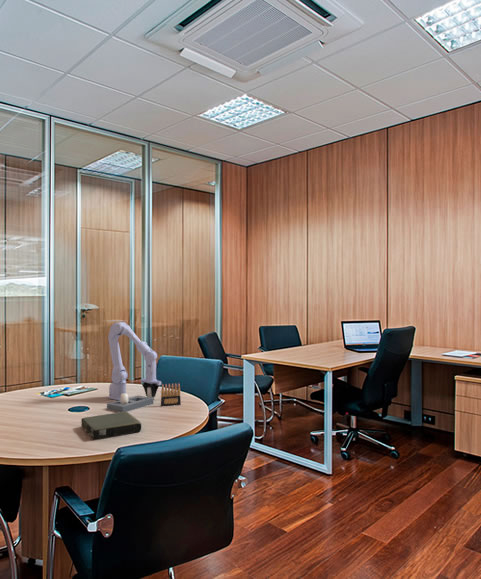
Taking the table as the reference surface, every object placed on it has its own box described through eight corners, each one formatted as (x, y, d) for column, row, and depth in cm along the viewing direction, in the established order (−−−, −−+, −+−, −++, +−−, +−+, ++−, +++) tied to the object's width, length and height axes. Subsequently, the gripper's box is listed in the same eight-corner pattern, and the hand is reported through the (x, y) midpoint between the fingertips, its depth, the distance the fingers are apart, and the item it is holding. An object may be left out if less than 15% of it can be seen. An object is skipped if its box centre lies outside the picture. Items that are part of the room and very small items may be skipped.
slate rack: (106, 409, 229) (107, 394, 229) (137, 400, 247) (138, 387, 247) (122, 412, 222) (122, 398, 222) (153, 403, 241) (153, 390, 241)
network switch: (75, 429, 196) (75, 418, 196) (124, 420, 211) (124, 409, 211) (95, 443, 178) (95, 431, 178) (147, 431, 193) (147, 420, 193)
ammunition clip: (161, 406, 235) (161, 384, 235) (160, 405, 237) (160, 383, 237) (180, 405, 239) (180, 383, 239) (180, 404, 240) (180, 382, 240)
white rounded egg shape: (145, 399, 249) (145, 387, 249) (150, 398, 253) (150, 386, 253) (150, 400, 247) (150, 388, 247) (155, 399, 251) (155, 387, 251)
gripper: (165, 372, 250) (164, 396, 249) (146, 370, 257) (146, 393, 257) (156, 374, 244) (156, 399, 243) (138, 372, 252) (137, 395, 251)
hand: (150, 396), depth 250 cm, fingers closed on white rounded egg shape, 4 cm apart
